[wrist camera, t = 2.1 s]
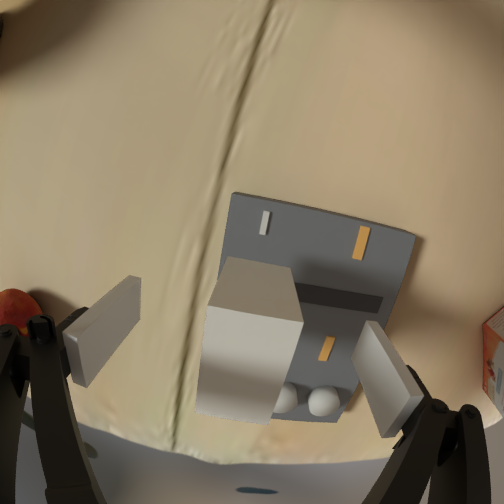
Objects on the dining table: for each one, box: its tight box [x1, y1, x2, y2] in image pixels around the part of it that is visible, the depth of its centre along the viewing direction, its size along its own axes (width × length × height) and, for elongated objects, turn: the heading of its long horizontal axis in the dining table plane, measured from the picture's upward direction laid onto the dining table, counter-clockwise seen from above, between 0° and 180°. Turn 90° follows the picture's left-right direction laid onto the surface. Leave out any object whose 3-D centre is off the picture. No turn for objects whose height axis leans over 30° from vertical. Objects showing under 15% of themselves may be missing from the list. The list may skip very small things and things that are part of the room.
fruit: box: [0, 289, 43, 337], centre depth 21 cm, size 8×8×8 cm
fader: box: [195, 256, 304, 425], centre depth 15 cm, size 6×4×10 cm, turn 170°
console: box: [217, 192, 416, 423], centre depth 22 cm, size 20×14×4 cm
